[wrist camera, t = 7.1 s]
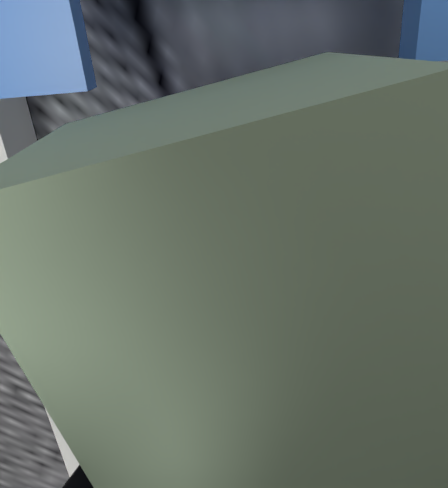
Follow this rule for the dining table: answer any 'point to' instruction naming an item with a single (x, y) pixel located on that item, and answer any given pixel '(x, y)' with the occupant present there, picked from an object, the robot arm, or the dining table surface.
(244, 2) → the dining table surface
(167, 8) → the dining table surface
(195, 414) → the plug block
